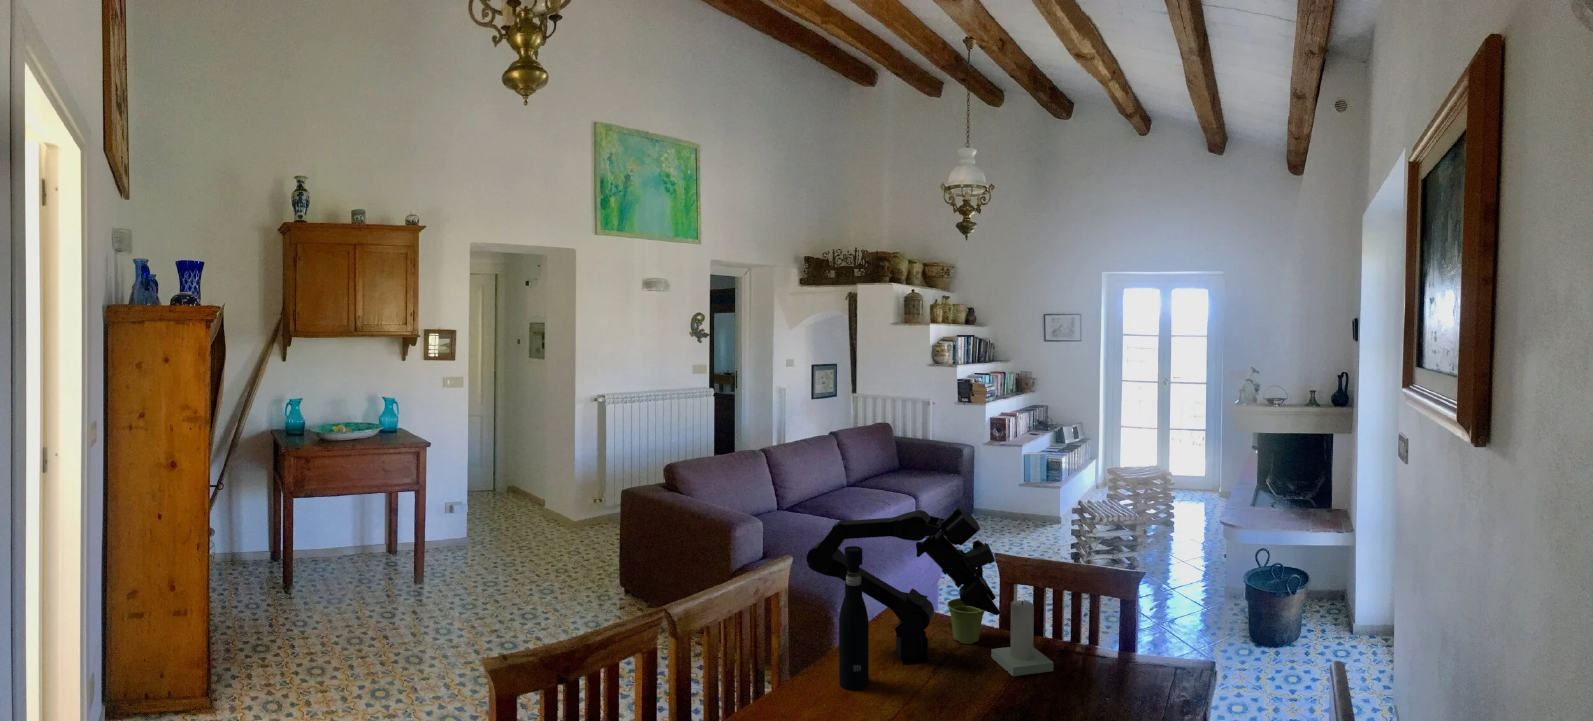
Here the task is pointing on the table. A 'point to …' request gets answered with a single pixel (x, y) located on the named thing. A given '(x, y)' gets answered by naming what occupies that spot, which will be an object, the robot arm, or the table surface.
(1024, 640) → the candle
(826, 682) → the table surface
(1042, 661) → the stand
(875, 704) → the table surface
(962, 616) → the plant pot
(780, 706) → the table surface
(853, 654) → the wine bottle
